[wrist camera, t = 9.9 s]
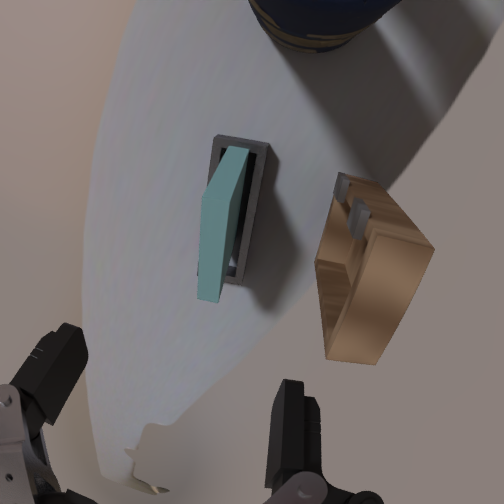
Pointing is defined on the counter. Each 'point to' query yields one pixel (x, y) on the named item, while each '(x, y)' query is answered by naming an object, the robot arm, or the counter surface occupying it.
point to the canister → (317, 21)
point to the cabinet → (366, 270)
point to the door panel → (220, 222)
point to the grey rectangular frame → (260, 149)
